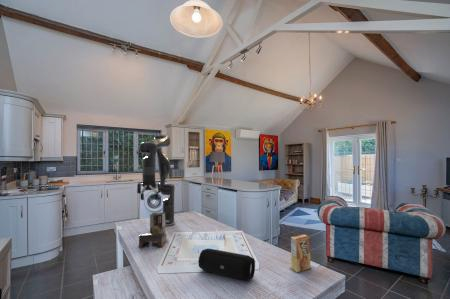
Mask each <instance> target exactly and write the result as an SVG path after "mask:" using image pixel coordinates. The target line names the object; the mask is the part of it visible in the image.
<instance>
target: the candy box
mask: <svg viewBox="0 0 450 299" xmlns="http://www.w3.org/2000/svg"><path fill="white" fill-rule="evenodd" d="M290 260H291V261H290V264H291V267H290V269H291V270H293V271H294V272H296V273H299V272H303V271H306V270H309V269H311V237H310V236H309V235H307V234H299V235H295V236H291V237H290Z"/></svg>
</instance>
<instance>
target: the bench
mask: <svg viewBox="0 0 450 299" xmlns="http://www.w3.org/2000/svg"><path fill="white" fill-rule="evenodd" d="M153 242H154V243H155V242H158V248H163V247H164V245H165V243H166V242H167V233H161V234H150V233H144V234H139V235H138V248H142V249H143V247H145V245H146V244H147V243H153Z"/></svg>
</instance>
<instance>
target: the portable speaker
mask: <svg viewBox="0 0 450 299" xmlns="http://www.w3.org/2000/svg"><path fill="white" fill-rule="evenodd" d="M197 261H198V262H197V264H198V267H199V268H200V269H201V270H203V272H209V273H213V274H216V275H221V276H224V277H225V276H226V277H230V278H234V279H239V280H243V281H250V280H253V278H254V276H255V270H256V261H255V258H254V257H252V256H250V255H248V254H241V253H236V252H231V251H225V250H219V249H214V248H204V249H202V250H201V251H200V253H199V256H198V260H197Z"/></svg>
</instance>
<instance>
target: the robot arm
mask: <svg viewBox="0 0 450 299" xmlns="http://www.w3.org/2000/svg"><path fill="white" fill-rule="evenodd" d="M170 145H171V137H170V136H169V135H168V134H156V135H155V136H154V139H152V140H149V141H142V142H141V143H139V146H138V150H139V152H140V153H142V154H149V156H145V157H143V158H142V170H141V171H142V172H141V174H142V183H141V182H139V183H137V187H136V190H137V191H136V193H137V194H139V195H140V200H141V201H144V200H145V194H144V193H145V192H146V191H152V192H154V200H155V201H157V200H158V199H159V194H161V195H162V196H169V197H167V198H165V199H163V200H162V212H165V223H166V227H169V226H173V225H175V190H176V188H175V184H174V183H166V179H167V177H168V175H169V174H170V172H171V170H172V169H171V167H172V166H171V161H170V159H169V158H168V157H167V155H166V153H164V151H163V149H162V148H167V147H169V146H170ZM156 157H157V166H158V174H159V182H158V183H157V182H156V164H155V162H156V161H155V160H156ZM156 187H157V188H156Z"/></svg>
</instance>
